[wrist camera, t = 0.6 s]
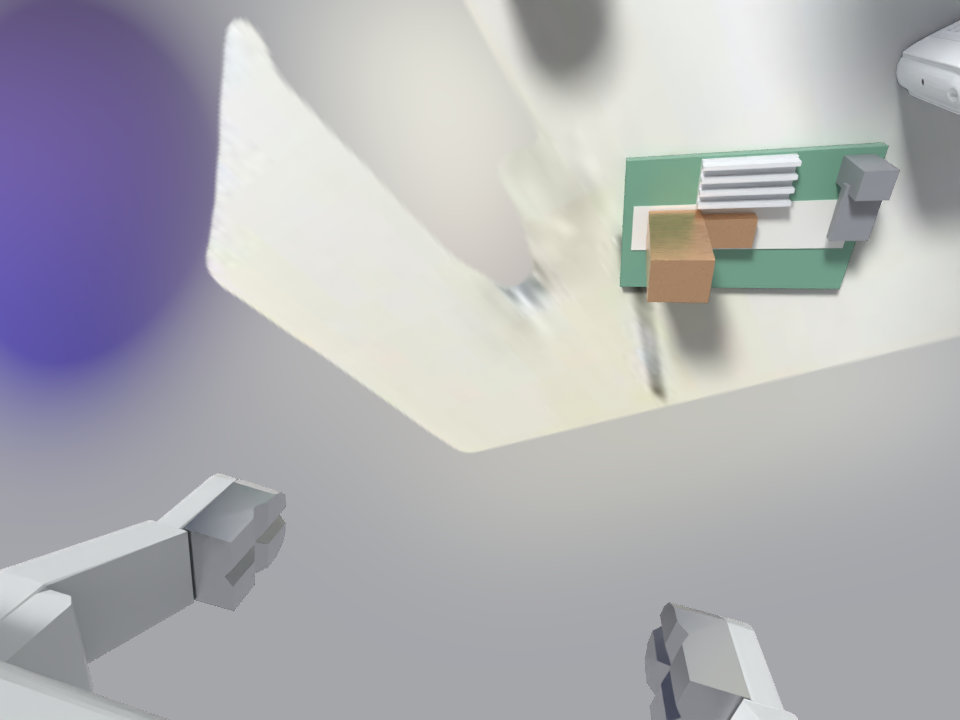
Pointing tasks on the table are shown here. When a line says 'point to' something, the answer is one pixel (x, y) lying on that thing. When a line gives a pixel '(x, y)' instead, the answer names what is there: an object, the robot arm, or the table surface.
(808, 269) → the board
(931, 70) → the photo printer
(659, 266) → the tall wooden block
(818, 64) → the table surface
